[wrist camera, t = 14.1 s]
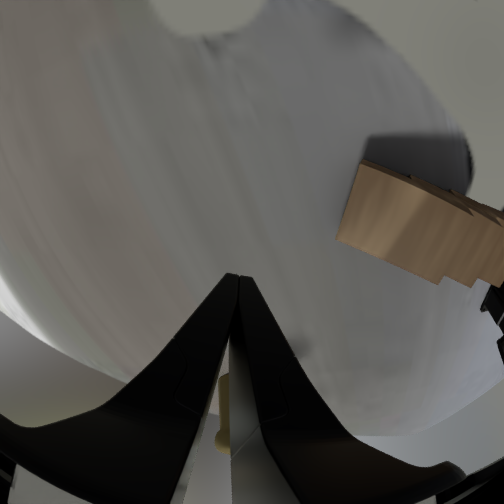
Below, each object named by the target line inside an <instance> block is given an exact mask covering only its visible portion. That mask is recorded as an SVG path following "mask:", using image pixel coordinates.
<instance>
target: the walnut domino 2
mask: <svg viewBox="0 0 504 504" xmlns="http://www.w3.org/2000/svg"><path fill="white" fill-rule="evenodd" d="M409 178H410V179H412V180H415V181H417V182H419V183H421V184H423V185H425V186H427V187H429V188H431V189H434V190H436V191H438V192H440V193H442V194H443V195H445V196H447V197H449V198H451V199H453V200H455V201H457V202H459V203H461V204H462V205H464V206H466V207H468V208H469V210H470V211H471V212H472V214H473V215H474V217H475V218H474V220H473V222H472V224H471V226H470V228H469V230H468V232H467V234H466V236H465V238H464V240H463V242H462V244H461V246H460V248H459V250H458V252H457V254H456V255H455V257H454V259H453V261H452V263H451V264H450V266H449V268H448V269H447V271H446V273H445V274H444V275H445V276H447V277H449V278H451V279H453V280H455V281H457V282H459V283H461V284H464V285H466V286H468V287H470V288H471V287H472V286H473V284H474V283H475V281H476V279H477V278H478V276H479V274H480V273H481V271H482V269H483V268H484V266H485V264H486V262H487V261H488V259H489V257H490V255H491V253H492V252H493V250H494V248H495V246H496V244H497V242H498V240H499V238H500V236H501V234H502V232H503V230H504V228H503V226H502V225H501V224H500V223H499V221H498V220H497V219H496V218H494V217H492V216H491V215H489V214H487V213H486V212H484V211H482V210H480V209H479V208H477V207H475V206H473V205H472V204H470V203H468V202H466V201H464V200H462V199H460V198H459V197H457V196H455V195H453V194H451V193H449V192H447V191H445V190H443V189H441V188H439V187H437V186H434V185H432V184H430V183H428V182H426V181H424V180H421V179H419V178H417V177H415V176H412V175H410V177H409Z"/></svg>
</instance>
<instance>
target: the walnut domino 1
mask: <svg viewBox="0 0 504 504" xmlns="http://www.w3.org/2000/svg"><path fill="white" fill-rule="evenodd" d="M474 218H475V217H474V215H473V214H472V212H471V211H470V210H469V208H468V207H466V206H464V205H462V204H461V203H459V202H457V201H455V200H453V199H451V198H449V197H447V196H445V195H443V194H442V193H440V192H438V191H436V190H434V189H431V188H429V187H427V186H425V185H423V184H421V183H419V182H417V181H415V180H412V179H410V178H408V177H406V176H403V175H401V174H399V173H396V172H394V171H392V170H389V169H387V168H384V167H382V166H380V165H377V164H374V163H372V162H369V161H367V160H364V159H363V160H362V161H361V163H360V165H359V168H358V172H357V175H356V178H355V181H354V184H353V188H352V191H351V194H350V197H349V200H348V203H347V206H346V209H345V212H344V215H343V218H342V221H341V223H340V226H339V229H338V232H337V235H336V237H335V239H336V240H338V241H340V242H343V243H345V244H347V245H350V246H352V247H355V248H357V249H359V250H361V251H364V252H366V253H368V254H371V255H373V256H375V257H378V258H380V259H382V260H384V261H387V262H389V263H391V264H393V265H395V266H398V267H400V268H402V269H404V270H406V271H409V272H411V273H413V274H415V275H417V276H419V277H421V278H424V279H426V280H428V281H430V282H432V283H434V284H436V285H438V284H439V283H440V281H441V279H442V278H443V276H444V274H445V273H446V271H447V269H448V268H449V266H450V264H451V263H452V261H453V259H454V257H455V255H456V254H457V252H458V250H459V248H460V246H461V244H462V242H463V240H464V238H465V236H466V234H467V232H468V230H469V228H470V226H471V224H472V222H473V220H474Z"/></svg>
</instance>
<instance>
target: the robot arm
mask: <svg viewBox="0 0 504 504" xmlns="http://www.w3.org/2000/svg"><path fill="white" fill-rule="evenodd" d="M480 310H481V312H485V311H489V313H490V314H491V316H492V318H493V319H494V321H495V323H496V324H497V325H499V327H500V329H501V331H502V332H503V334H504V281H503V283H502V285H501V286H500V288H498V287H496V286H494V285H491V287H490V290H489V292H488V294H487V296H486V298H485V300H484V302H483V304H482V306H481V308H480ZM228 339H229V416H230V455H231V483H232V504H504V457H502V458H500V459H498V460H497V461H495V462H493V463H491V464H489V465H487V466H485V467H484V468H482V469H480V470H477V471H475V472H474V473H471V474H469V475H467V476H466V474H465V473H464V471H463V470H462V469H461V468H460V467H458V466H456V465H455V464H453V463H451V462H449V461H445V462H442V463H439V464H437V465H434V466H432V467H418V466H414V465H411V464H408V463H406V462H404V461H401V460H399V459H397V458H394V457H392V456H390V455H388V454H385V453H384V452H382V451H379V450H377V449H375V448H373V447H371V446H369V445H367V444H365V443H363V442H361V441H360V440H358V439H356V438H355V437H354V436H352V435H351V434H350V433H349V432H348V431H347V430H346V429H345V428H344V427H343V425H342V424H341V423H340V421H339V420H338V419H337V417H336V416H335V415H334V413H333V412H332V411H331V409H330V408H329V407H328V405H327V404H326V403H325V401H324V400H323V399H322V397H321V396H320V395H319V393H318V392H317V390H316V389H315V388H314V386H313V385H312V383H311V382H310V380H309V379H308V377H307V375H306V374H305V372H304V370H303V369H302V367H301V365H300V363H299V361H298V360H297V358H296V357H295V354H294V353H293V351H292V349H291V347H290V345H289V344H288V342H287V340H286V338H285V336H284V334H283V333H282V331H281V329H280V327H279V325H278V323H277V322H276V320H275V318H274V316H273V314H272V312H271V311H270V309H269V307H268V305H267V303H266V301H265V300H264V298H263V296H262V294H261V292H260V290H259V288H258V287H257V285H256V283H255V281H254V279H253V278H252V277H249V276H243V275H241V276H240V277H239V275H237V274H232V273H226V274H225V275H224V276H223V278H222V279H221V280H220V281H219V282H218V284H217V285H216V286H215V287H214V288H213V290H212V291H211V292H210V293H209V294H208V296H207V297H206V298H205V299H204V300H203V302H202V303H201V304H200V305H199V307H198V308H197V309H196V310H195V311H194V313H193V314H192V315H191V316H190V317H189V319H188V320H187V321H186V322H185V323H184V325H183V326H182V327H181V328H180V329H179V331H178V332H177V333H176V334H175V336H174V337H173V338H172V339H171V340H170V341H169V343H168V344H167V345H166V346H165V347H164V349H163V350H162V351H161V352H160V353H159V354H158V355H157V356H156V358H155V359H154V360H153V361H152V362H151V363H150V364H149V365H147V366H146V367H145V368H144V369H143V370H142V371H141V372H140V373H139V374H138V375H137V376H136V377H135V378H133V379H132V380H131V381H130V382H129V383H128V384H127V385H126V386H125V387H123V388H122V389H121V390H120V391H119V392H118V393H117V394H116V395H115V396H113V397H112V398H111V399H110V400H108V401H107V402H106V403H104V404H103V405H101V406H99V407H97V408H95V409H93V410H91V411H88V412H85V413H82V414H79V415H76V416H73V417H70V418H67V419H64V420H60V421H57V422H54V423H51V424H48V425H44V426H40V427H23V426H19V425H17V424H15V423H13V422H12V421H11V420H9V419H8V418H6V417H5V416H3V415H2V414H0V504H182V503H183V500H184V497H185V493H186V489H187V486H188V482H189V479H190V475H191V472H192V468H193V464H194V461H195V457H196V454H197V450H198V447H199V443H200V439H201V436H202V432H203V429H204V425H205V422H206V418H207V415H208V411H209V408H210V404H211V400H212V397H213V393H214V390H215V386H216V383H217V379H218V375H219V372H220V368H221V365H222V361H223V358H224V354H225V350H226V347H227V343H228ZM497 345H498V349H499V352H500V355H501V358H502V361H503V364H504V335H503V336H502V337H501V338H500V339H498V340H497Z"/></svg>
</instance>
